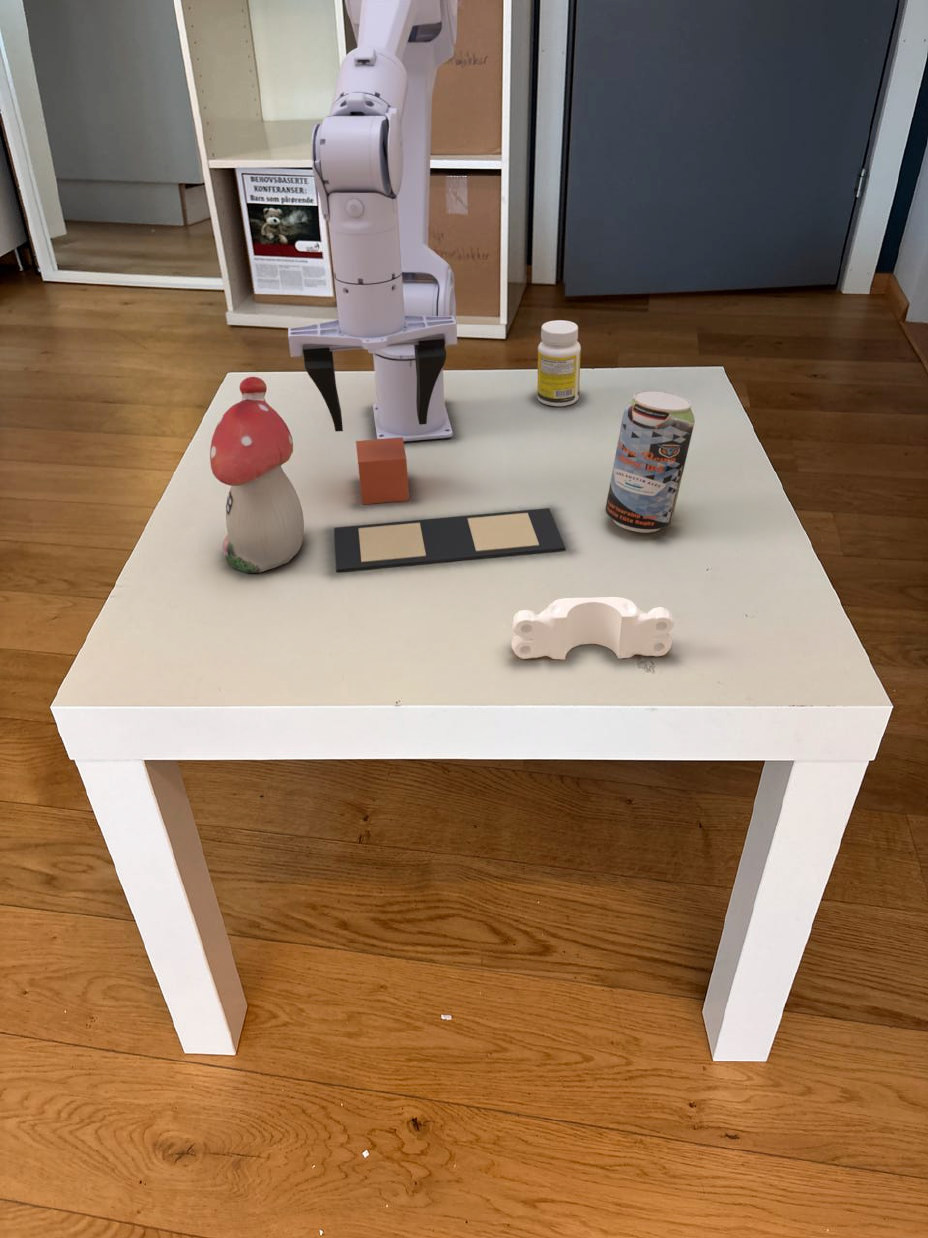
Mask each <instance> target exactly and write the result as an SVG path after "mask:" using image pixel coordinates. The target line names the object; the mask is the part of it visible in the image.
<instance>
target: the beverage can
mask: <svg viewBox="0 0 928 1238" xmlns="http://www.w3.org/2000/svg"><path fill="white" fill-rule="evenodd" d="M692 405H693V404H692V402H691V400H689V399H688V398H686V397H684V396H683V395H680V394H676V393H674V392H669V391H664V390H656V389H645V390H639V391H636V392H635V393H634V394H633V398H632V399H631V400H630V401H629V402H628V403H627V404H626V406H625V407H624V409H623V414H622V418H621V424H620V430H619V434H618V440H617V445H616V449H615V450H616V451H615V455H614V462H613V466H612V471H611V477H610V481H609V486H608V487H609V488H608V492H607V498H606V502H605V513H606V515H607V516H608V517H609V518H610V519H612V521H613V523H615V524H616V525H617V526H619V527H621V528H623V529H625V530H627V531H631V532H635V533H655V532H657V531H660V530H661V529H663V528H666V527H668V526H670V524H672V521H673V518H674V513H675V509H676V504H677V501H678V496H679V492H680V488H681V483H682V479H683V476H684V475H683V474H684V471H685V466H686V461H687V458H688V454H689V453H688V452H689V448H690V444H691V440H692V435H693V431H694V428H695V427H694V426H695V423H696V422H695V416H694V413H693V411H692Z"/></svg>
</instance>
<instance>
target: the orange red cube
mask: <svg viewBox="0 0 928 1238" xmlns="http://www.w3.org/2000/svg"><path fill="white" fill-rule="evenodd" d="M355 447H356V455H357V456H356V457H357V467H358V476H359V486H360V496H361V505H371V504H384V503H394V502H396V503H397V502H407V501H410V492H409V491H410V490H409V476H408V475H409V473H408V464H407V461H408V460H407V453H406V448H405V443H404V441H403V438H402V437H398V438H386V439H377V438H375V439H364V440H363V439H362V440H356V441H355Z"/></svg>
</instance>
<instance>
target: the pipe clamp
mask: <svg viewBox="0 0 928 1238" xmlns="http://www.w3.org/2000/svg"><path fill="white" fill-rule="evenodd" d="M674 627H675V622H674V618H673V614H672V613H671V611H670V610H668V609H667V608H666V607H663V606H658V607H653V608H652V609H650V611H648V612H645V611H644V610H642V609H641V608H639V607H638V606H637V605H636V604H635V602H633V601H632V600H630V599H628V598H627V597H626V598H625V597H621V596H599V597H598V596H596V597H595V596H594V597H563V598H558V599H555V600H553V601H552V602H551V603H550V604H549V605H548V606H546V608H544V609H543V610H542V611H541V612H539V613H538V614H536V613H535V612H534V611H532V610H530V609H521V610H519V611H517V612H516V613H515V615H514V616H513V617H512V624H511V629H512V632H513V633H514V634H515V635H514V636H513V637H512V639H511V643H510V645H511V649H512V651H513V653H514V655H516V657H519V658H520V659H523V660H526V659H527V660H528V659H538V658H542V657H549V658H550V659H552V660H560V661H561V660H566V657H567V654H568V653H569V651H570V650H572V649H573V648H575V647H578V646H581V645H599V646H602V647H606V648H607V649H609V650H610V651H612V652H613V653H614V654H615V655H616V657H617V659H630V658H632V657H634V656H635V655H639V656H645V657H652V656H653V657H661V656H665V655H666V654H667V653H668V652H669V651H670V649H671V648H672V644H673V639H672V637H671V635H670V634H669V633H670V632H671V631H672V630H673V629H674Z"/></svg>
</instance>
